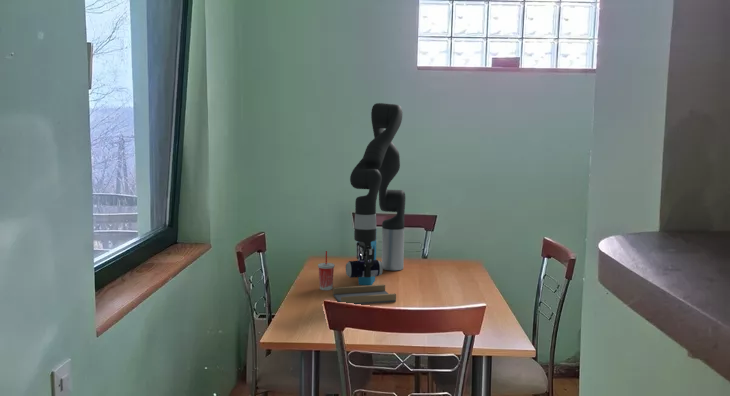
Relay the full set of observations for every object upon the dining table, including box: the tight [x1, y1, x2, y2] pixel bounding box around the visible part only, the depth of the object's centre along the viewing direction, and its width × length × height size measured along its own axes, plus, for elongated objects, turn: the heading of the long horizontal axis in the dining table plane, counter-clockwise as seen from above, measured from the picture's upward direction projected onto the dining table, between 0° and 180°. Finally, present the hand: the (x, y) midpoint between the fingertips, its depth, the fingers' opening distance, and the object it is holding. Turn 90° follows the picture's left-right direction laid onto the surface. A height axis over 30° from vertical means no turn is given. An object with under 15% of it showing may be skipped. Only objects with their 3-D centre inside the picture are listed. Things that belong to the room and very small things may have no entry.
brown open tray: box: [332, 284, 397, 305], centre depth 211 cm, size 13×19×3 cm
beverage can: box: [345, 259, 384, 279], centre depth 210 cm, size 6×6×12 cm
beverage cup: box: [317, 250, 335, 291], centre depth 223 cm, size 6×6×14 cm
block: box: [357, 228, 377, 286], centre depth 232 cm, size 12×5×20 cm, turn 168°
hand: (364, 274), depth 210 cm, fingers closed on beverage can, 5 cm apart
